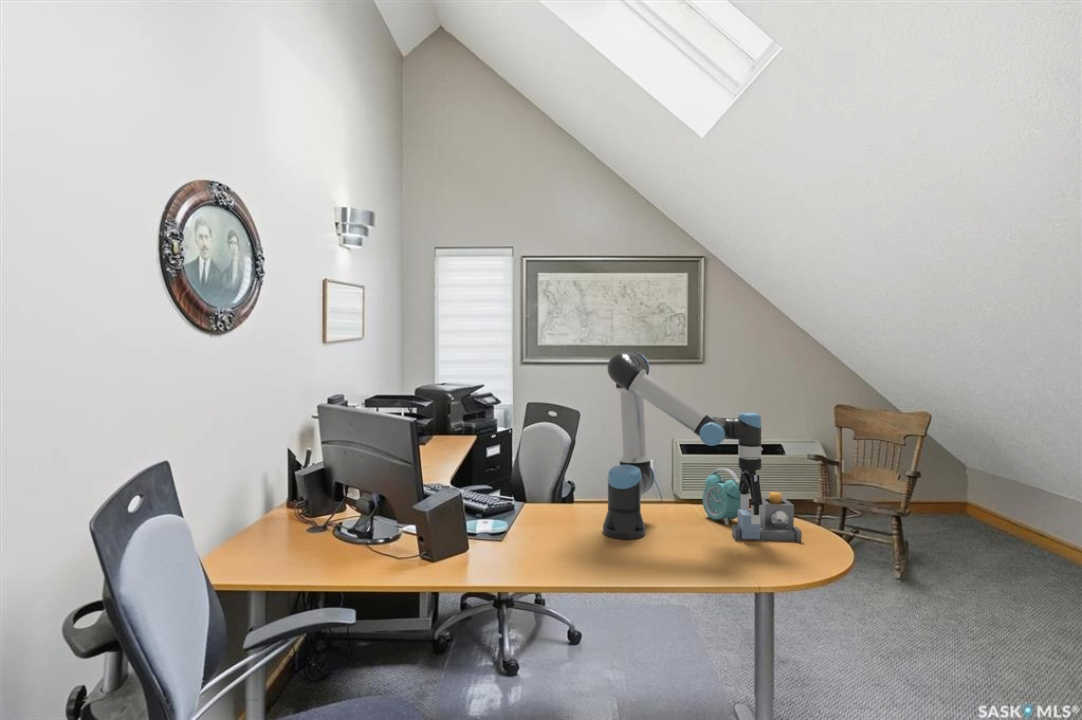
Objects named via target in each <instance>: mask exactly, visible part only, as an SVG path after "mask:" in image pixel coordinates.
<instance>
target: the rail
mask: <svg viewBox="0 0 1082 720" xmlns="http://www.w3.org/2000/svg"><path fill="white" fill-rule="evenodd" d="M731 527H732V529H731V531H732V532H731V537H732V538H733V540H734V541H735V542H741V541H757V542H758V541H761V542H762V541H763V542H766V541H767V542H769V541H770V542H796V543H800V544H801V543H802V530H801V529H800V528H799V527H797V526H794V527H792V530H765V529H762V528H761V533H760V539H742V538H741V530H740V528H739V527H738V526H737V524H732V526H731Z"/></svg>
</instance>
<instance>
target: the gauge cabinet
mask: <svg viewBox="0 0 1082 720" xmlns="http://www.w3.org/2000/svg"><path fill="white" fill-rule="evenodd" d="M760 515H761V529H765V530H792V527H795V525H794V524H795V523H794V522H795V504H793V503H792V502H790V501H789V500H787V499H786V498H785V497H782V504H773V503H769V497H762V505H760Z"/></svg>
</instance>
